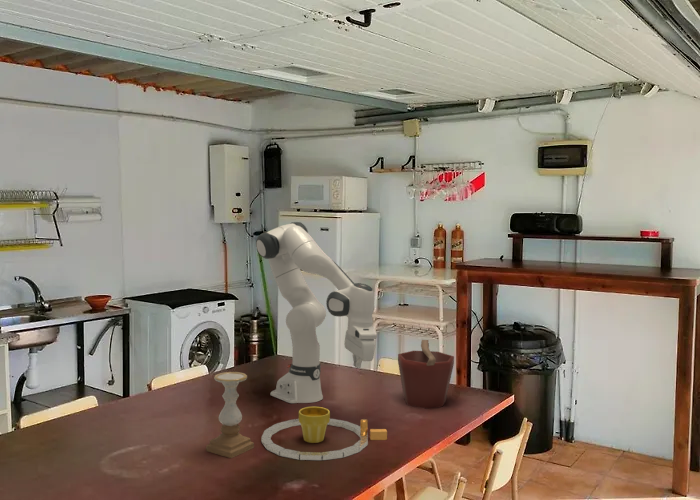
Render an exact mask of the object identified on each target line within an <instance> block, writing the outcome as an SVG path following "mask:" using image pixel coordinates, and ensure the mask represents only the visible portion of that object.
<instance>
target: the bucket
mask: <svg viewBox="0 0 700 500" xmlns="http://www.w3.org/2000/svg"><path fill="white" fill-rule="evenodd" d="M429 344H430V343H429V339H421V342H420V348H421V350H411V351H406V352H401V353H398V354H397V364H398V369H399V371H398V372H399V377H400V382H401V388H402V394H403V399H404V401H405V403H406V404H407V406H411V407H416V408H422V409H432V408H441V407H443V406H444V405H445V404H446V400H447V396H448V393H449V388H450V382H451V378H452V373H453V368H454V364H455V356H454V355H450V354H447V353H444V352H441V351H433V350H432V351H431V349H430V345H429Z"/></svg>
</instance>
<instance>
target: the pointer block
mask: <svg viewBox="0 0 700 500" xmlns="http://www.w3.org/2000/svg"><path fill="white" fill-rule="evenodd" d="M369 439H370V441H387V440H388V431H387V429H386V428H370V429H369Z"/></svg>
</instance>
